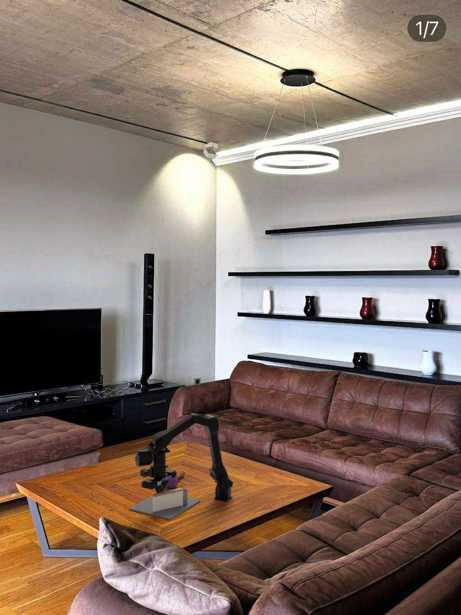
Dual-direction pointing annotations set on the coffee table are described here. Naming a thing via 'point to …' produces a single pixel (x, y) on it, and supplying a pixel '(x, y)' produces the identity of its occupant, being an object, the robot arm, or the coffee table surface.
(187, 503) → the flat gray base plate
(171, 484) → the kendama
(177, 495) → the gate
